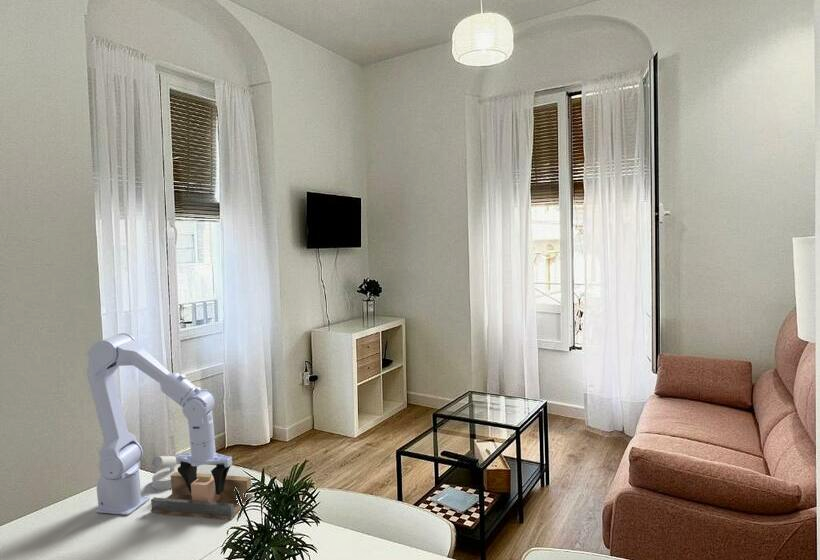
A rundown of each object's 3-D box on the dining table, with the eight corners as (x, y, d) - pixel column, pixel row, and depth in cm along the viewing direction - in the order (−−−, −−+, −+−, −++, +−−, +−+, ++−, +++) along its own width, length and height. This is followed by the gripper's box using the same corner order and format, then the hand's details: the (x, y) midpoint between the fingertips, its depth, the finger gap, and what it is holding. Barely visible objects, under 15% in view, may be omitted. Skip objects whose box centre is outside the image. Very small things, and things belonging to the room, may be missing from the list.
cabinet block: (192, 506, 128) (190, 480, 128) (204, 496, 133) (202, 470, 133) (208, 508, 127) (206, 481, 127) (220, 497, 132) (218, 471, 132)
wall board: (151, 513, 128) (149, 490, 127) (177, 492, 137) (175, 472, 137) (231, 520, 123) (229, 497, 123) (252, 498, 133) (250, 477, 132)
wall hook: (140, 458, 138) (161, 442, 148) (143, 492, 139) (164, 474, 148) (170, 458, 137) (190, 442, 147) (173, 492, 138) (192, 474, 148)
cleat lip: (151, 509, 128) (150, 499, 128) (155, 506, 129) (154, 497, 129) (231, 516, 123) (230, 506, 123) (234, 513, 124) (233, 503, 124)
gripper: (166, 445, 127) (171, 497, 128) (219, 448, 124) (223, 501, 125) (184, 433, 133) (188, 483, 135) (235, 436, 130) (238, 487, 132)
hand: (206, 491), depth 130 cm, fingers open, 7 cm apart
